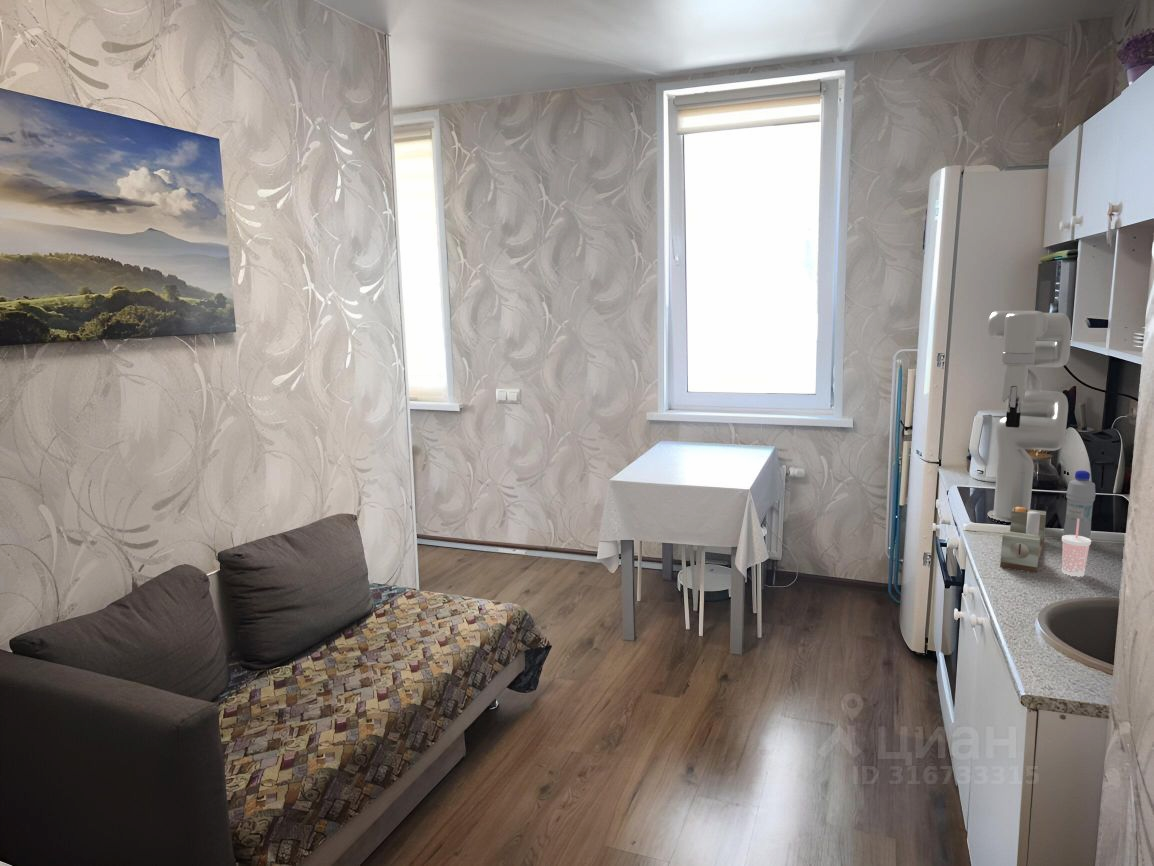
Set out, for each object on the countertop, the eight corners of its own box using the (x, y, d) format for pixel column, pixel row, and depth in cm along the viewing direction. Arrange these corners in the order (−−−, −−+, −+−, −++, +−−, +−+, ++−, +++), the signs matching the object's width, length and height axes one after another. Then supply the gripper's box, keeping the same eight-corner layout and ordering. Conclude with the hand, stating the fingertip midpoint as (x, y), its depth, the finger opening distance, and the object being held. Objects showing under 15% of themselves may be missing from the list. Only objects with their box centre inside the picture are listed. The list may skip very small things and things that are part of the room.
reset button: (1014, 520, 217) (1015, 506, 216) (1025, 521, 215) (1026, 507, 214) (1013, 522, 214) (1015, 508, 214) (1024, 523, 213) (1025, 509, 212)
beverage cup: (1071, 567, 194) (1076, 514, 192) (1093, 576, 188) (1099, 521, 186) (1052, 571, 192) (1057, 516, 190) (1074, 579, 187) (1080, 523, 184)
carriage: (1007, 546, 203) (1010, 507, 201) (1037, 550, 199) (1041, 511, 197) (1005, 551, 199) (1008, 512, 197) (1036, 556, 195) (1040, 516, 193)
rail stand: (1010, 536, 218) (1013, 507, 217) (1043, 541, 214) (1046, 511, 213) (999, 567, 195) (1002, 535, 194) (1036, 573, 191) (1039, 540, 189)
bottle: (1056, 540, 215) (1063, 469, 211) (1071, 535, 218) (1077, 466, 214) (1081, 546, 209) (1088, 474, 205) (1096, 542, 212) (1103, 471, 208)
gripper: (1004, 356, 215) (999, 421, 218) (999, 361, 203) (993, 430, 206) (1036, 357, 211) (1030, 423, 214) (1032, 362, 198) (1026, 432, 202)
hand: (1012, 426), depth 210 cm, fingers closed
